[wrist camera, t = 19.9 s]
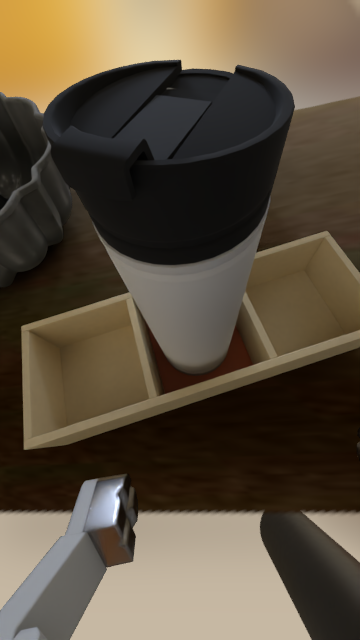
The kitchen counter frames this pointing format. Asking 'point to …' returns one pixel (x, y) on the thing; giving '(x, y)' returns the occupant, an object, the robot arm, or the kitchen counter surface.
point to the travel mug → (176, 189)
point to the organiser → (152, 365)
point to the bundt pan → (27, 190)
